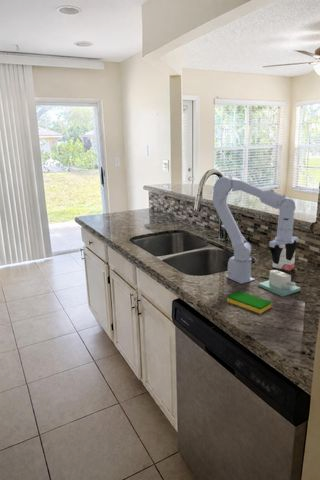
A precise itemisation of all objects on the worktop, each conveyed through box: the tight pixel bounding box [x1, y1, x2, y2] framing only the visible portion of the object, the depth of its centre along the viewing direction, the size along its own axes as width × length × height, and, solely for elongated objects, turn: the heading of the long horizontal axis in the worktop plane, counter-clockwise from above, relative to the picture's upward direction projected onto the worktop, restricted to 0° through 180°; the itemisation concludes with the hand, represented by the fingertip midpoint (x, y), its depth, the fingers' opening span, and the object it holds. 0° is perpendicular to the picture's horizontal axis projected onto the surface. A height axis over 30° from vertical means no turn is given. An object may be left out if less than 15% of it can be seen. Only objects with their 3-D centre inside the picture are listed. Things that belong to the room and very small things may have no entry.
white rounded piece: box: [268, 269, 297, 290], centre depth 135 cm, size 11×4×5 cm, turn 32°
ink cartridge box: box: [272, 236, 296, 272], centre depth 157 cm, size 9×5×15 cm, turn 47°
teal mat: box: [258, 279, 301, 297], centre depth 137 cm, size 12×10×1 cm
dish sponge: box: [226, 290, 272, 314], centre depth 124 cm, size 7×14×2 cm, turn 44°
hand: (282, 261), depth 139 cm, fingers open, 7 cm apart
